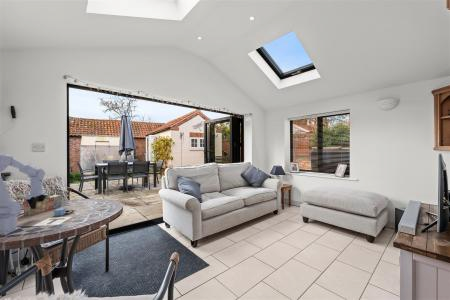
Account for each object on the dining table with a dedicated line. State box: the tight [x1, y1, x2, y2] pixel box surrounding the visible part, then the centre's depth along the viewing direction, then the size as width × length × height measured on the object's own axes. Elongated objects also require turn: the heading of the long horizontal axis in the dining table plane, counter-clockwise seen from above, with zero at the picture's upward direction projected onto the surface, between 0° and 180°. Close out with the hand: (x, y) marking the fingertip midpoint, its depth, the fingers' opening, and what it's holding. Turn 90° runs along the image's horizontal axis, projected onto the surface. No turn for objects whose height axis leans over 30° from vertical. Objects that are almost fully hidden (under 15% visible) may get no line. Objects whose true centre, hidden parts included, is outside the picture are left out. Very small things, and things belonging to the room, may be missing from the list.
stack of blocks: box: [23, 193, 63, 216], centre depth 144 cm, size 21×6×12 cm, turn 171°
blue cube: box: [53, 207, 67, 217], centre depth 133 cm, size 4×4×4 cm
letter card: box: [33, 216, 72, 227], centre depth 121 cm, size 14×14×1 cm
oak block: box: [30, 201, 45, 211], centre depth 125 cm, size 5×5×5 cm
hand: (36, 207), depth 125 cm, fingers closed on oak block, 5 cm apart
